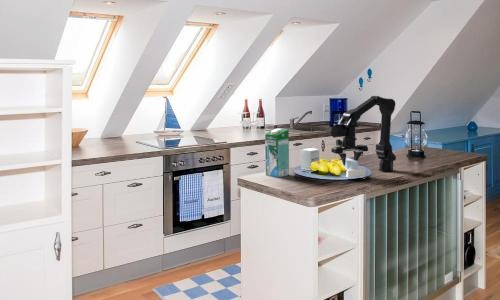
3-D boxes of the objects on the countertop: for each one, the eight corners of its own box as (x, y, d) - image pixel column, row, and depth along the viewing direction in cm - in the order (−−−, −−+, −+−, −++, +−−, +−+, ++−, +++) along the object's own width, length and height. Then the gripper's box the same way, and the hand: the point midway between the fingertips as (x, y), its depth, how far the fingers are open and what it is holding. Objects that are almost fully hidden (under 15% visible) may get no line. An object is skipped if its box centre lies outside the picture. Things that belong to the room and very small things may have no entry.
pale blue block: (357, 170, 250) (357, 161, 249) (350, 171, 249) (350, 161, 248) (348, 167, 260) (348, 157, 259) (341, 167, 259) (341, 158, 258)
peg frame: (334, 174, 261) (334, 165, 260) (350, 172, 264) (350, 163, 263) (347, 180, 246) (348, 170, 245) (365, 178, 249) (365, 169, 248)
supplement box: (310, 173, 264) (310, 150, 262) (300, 171, 269) (300, 149, 267) (319, 171, 268) (319, 149, 266) (310, 169, 274) (309, 147, 272)
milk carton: (265, 175, 262) (264, 129, 258) (277, 172, 268) (276, 127, 264) (278, 177, 256) (277, 131, 251) (289, 174, 262) (288, 129, 258)
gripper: (358, 132, 261) (357, 160, 264) (326, 135, 256) (326, 163, 259) (368, 135, 251) (368, 164, 254) (336, 137, 246) (336, 167, 248)
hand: (349, 165), depth 254 cm, fingers open, 6 cm apart
